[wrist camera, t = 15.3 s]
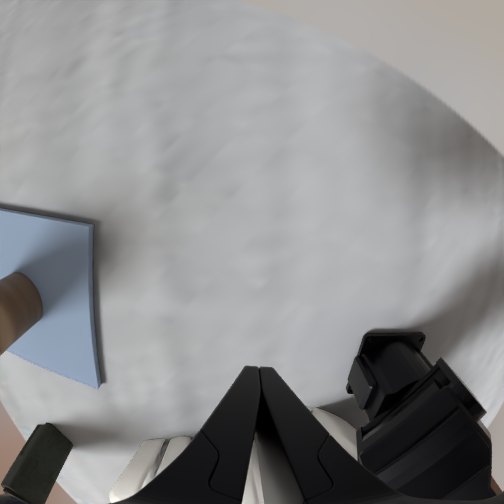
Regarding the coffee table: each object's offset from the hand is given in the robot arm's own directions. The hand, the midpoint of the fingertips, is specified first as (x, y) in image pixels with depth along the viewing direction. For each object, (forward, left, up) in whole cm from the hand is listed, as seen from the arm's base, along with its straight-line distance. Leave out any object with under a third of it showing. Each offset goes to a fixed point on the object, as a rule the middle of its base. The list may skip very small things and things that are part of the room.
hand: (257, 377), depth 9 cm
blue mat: (+21, +6, -13) cm, 25 cm away
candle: (+25, +29, -13) cm, 40 cm away
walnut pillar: (+21, +6, -12) cm, 25 cm away
